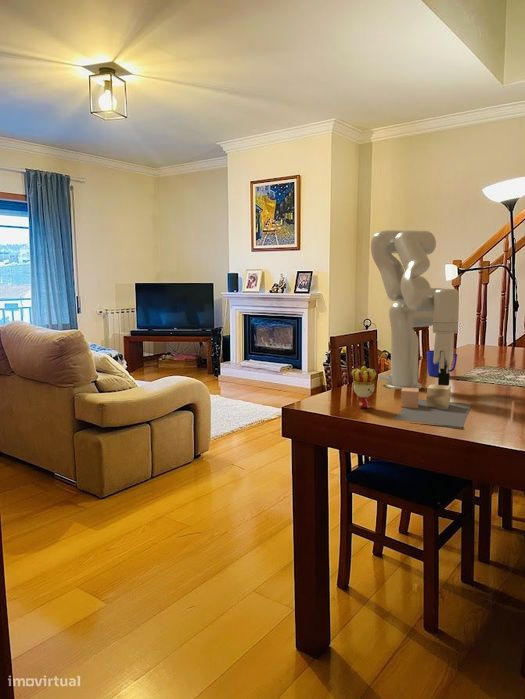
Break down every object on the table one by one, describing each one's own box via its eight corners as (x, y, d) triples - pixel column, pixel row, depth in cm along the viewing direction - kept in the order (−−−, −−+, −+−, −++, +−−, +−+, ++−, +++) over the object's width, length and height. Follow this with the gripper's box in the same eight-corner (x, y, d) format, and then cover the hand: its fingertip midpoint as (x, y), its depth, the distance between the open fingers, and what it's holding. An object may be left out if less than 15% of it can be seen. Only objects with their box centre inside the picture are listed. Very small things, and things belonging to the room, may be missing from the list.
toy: (370, 414, 150) (371, 363, 148) (347, 411, 153) (348, 361, 151) (378, 408, 156) (379, 360, 154) (356, 406, 159) (357, 358, 157)
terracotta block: (400, 406, 155) (401, 390, 155) (401, 403, 160) (401, 387, 159) (418, 408, 154) (418, 391, 153) (418, 404, 159) (418, 388, 158)
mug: (459, 377, 205) (460, 352, 204) (429, 377, 206) (430, 353, 204) (452, 373, 213) (453, 350, 212) (423, 374, 214) (424, 350, 212)
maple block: (426, 407, 155) (427, 387, 154) (429, 403, 160) (430, 384, 159) (447, 409, 152) (448, 389, 151) (449, 404, 157) (450, 385, 156)
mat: (392, 421, 142) (393, 419, 141) (412, 400, 166) (412, 398, 166) (462, 429, 133) (462, 427, 133) (471, 406, 158) (472, 404, 158)
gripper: (436, 326, 169) (435, 380, 171) (429, 329, 156) (427, 388, 158) (460, 326, 166) (458, 382, 168) (455, 330, 153) (453, 390, 155)
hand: (443, 385), depth 163 cm, fingers closed
